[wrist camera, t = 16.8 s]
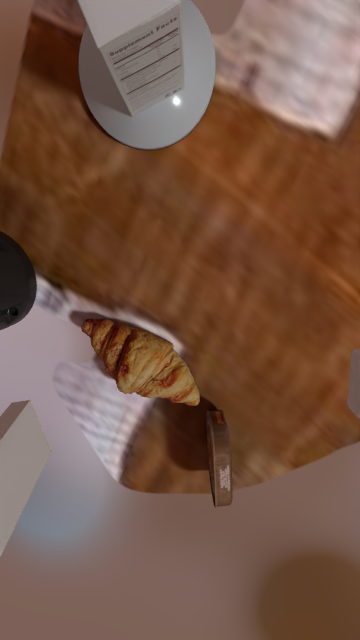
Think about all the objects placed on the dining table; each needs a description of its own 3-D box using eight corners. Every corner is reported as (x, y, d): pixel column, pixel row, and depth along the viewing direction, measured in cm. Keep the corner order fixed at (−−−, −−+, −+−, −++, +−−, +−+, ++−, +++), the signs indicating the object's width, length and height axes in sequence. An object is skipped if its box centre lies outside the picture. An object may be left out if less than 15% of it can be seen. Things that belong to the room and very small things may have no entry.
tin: (205, 399, 45) (208, 434, 36) (224, 399, 44) (231, 434, 36) (208, 474, 49) (211, 521, 40) (226, 474, 48) (233, 521, 40)
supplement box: (103, 52, 32) (47, -67, 20) (162, 18, 31) (141, -130, 18) (130, 120, 33) (95, 49, 21) (187, 90, 32) (183, -2, 20)
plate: (94, 157, 36) (92, 155, 35) (69, 1, 31) (65, -7, 30) (218, 142, 34) (219, 139, 33) (210, -23, 30) (210, -31, 29)
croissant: (208, 373, 47) (227, 377, 39) (176, 425, 45) (190, 441, 37) (103, 300, 44) (102, 290, 36) (63, 353, 42) (53, 354, 34)
